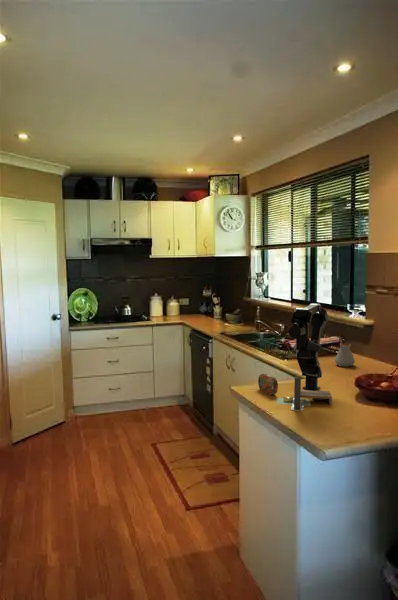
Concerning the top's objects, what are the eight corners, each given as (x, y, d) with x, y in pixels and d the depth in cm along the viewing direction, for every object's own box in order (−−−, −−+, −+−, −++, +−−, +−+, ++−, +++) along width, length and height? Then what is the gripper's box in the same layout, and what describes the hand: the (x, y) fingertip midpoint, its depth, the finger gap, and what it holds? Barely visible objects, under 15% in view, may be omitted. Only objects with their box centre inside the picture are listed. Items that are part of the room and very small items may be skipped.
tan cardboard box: (295, 398, 211) (295, 390, 210) (329, 399, 209) (329, 391, 208) (296, 404, 203) (296, 395, 202) (331, 405, 201) (331, 396, 200)
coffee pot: (356, 367, 269) (357, 342, 268) (336, 367, 270) (337, 342, 269) (347, 359, 290) (348, 336, 289) (329, 359, 291) (329, 336, 290)
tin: (257, 388, 227) (257, 372, 226) (263, 388, 228) (263, 371, 227) (272, 397, 213) (273, 379, 212) (278, 396, 214) (279, 378, 213)
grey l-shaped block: (294, 399, 209) (294, 369, 207) (305, 400, 207) (306, 370, 206) (290, 410, 194) (291, 378, 193) (302, 411, 193) (303, 378, 191)
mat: (276, 398, 211) (276, 397, 211) (308, 399, 209) (308, 399, 209) (277, 404, 202) (277, 404, 202) (310, 405, 200) (310, 405, 200)
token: (282, 399, 209) (282, 396, 209) (291, 398, 209) (291, 395, 209) (285, 402, 204) (285, 399, 204) (294, 401, 205) (294, 398, 205)
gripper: (322, 339, 201) (322, 374, 202) (317, 332, 219) (317, 364, 221) (296, 338, 202) (296, 373, 204) (294, 332, 221) (293, 364, 222)
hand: (301, 369), depth 213 cm, fingers open, 9 cm apart
